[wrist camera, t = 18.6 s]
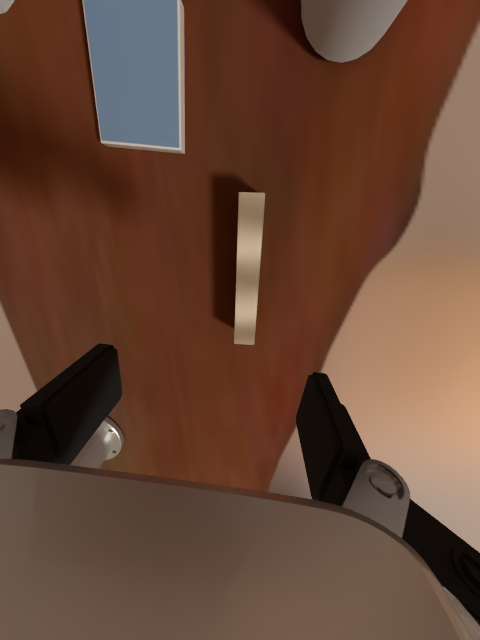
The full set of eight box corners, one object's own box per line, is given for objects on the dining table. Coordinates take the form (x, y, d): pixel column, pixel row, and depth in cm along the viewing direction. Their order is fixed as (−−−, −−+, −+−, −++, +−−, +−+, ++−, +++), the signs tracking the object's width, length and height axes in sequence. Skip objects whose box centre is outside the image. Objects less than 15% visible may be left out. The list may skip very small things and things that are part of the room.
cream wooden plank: (254, 330, 31) (254, 344, 27) (237, 328, 31) (234, 343, 27) (264, 196, 24) (265, 192, 20) (241, 196, 24) (238, 192, 21)
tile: (181, 150, 22) (179, -6, 18) (99, 142, 22) (79, -14, 18) (186, 155, 23) (185, 13, 19) (110, 147, 23) (94, 5, 19)
